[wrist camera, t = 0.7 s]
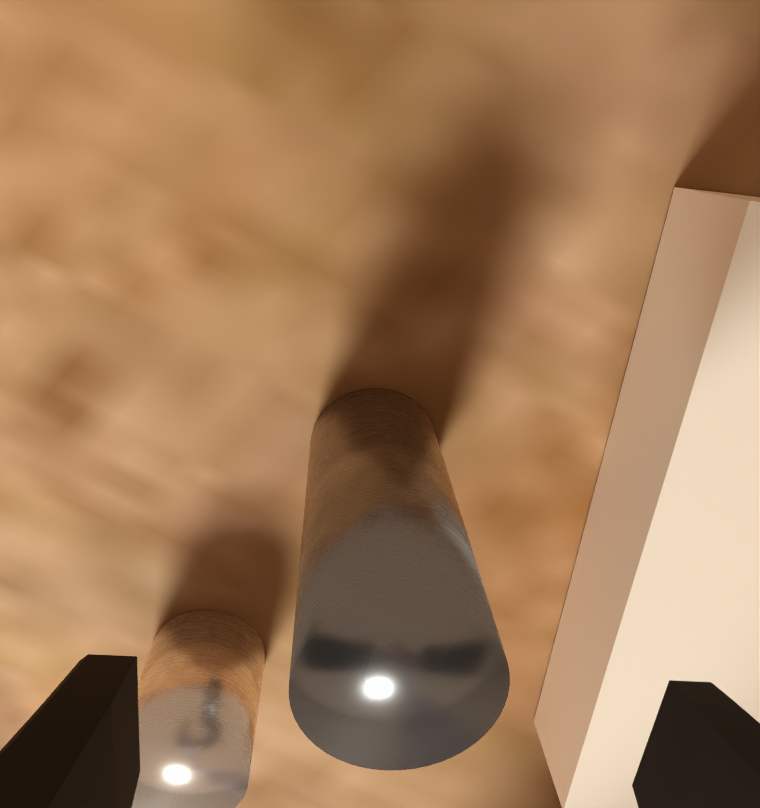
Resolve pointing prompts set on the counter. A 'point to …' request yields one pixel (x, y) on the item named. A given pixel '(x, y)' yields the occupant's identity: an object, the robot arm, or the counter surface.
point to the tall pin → (389, 596)
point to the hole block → (668, 513)
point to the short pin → (198, 712)
